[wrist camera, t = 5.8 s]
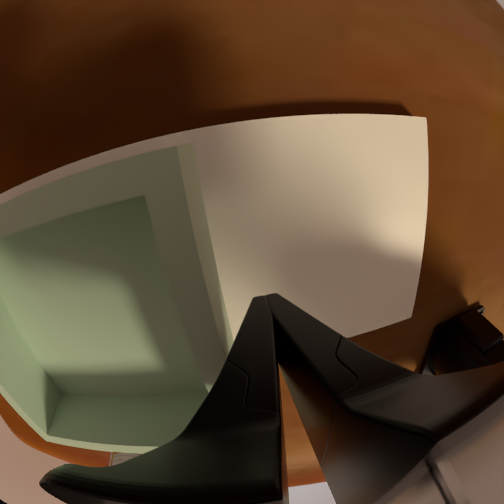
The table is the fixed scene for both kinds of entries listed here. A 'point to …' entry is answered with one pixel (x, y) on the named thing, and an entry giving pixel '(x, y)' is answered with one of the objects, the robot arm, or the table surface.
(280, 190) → the board
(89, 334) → the sage green storage bin
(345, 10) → the table surface
